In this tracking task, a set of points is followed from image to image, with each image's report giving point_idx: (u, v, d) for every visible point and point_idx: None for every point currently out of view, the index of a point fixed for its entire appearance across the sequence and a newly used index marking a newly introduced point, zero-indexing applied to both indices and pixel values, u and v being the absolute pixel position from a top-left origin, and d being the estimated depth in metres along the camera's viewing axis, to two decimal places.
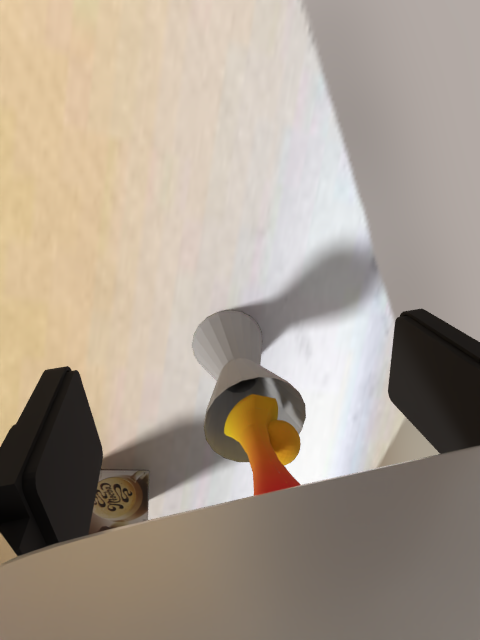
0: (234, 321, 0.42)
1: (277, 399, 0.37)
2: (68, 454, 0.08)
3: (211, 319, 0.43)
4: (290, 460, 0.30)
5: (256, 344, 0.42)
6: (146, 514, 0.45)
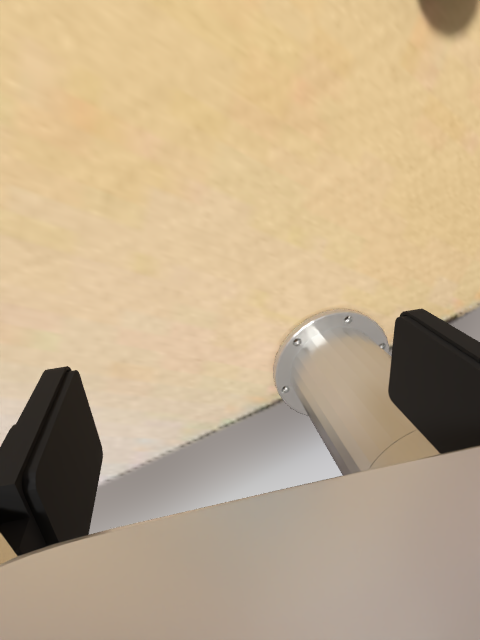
0: None
1: None
2: (68, 454, 0.08)
3: None
4: None
5: None
6: None
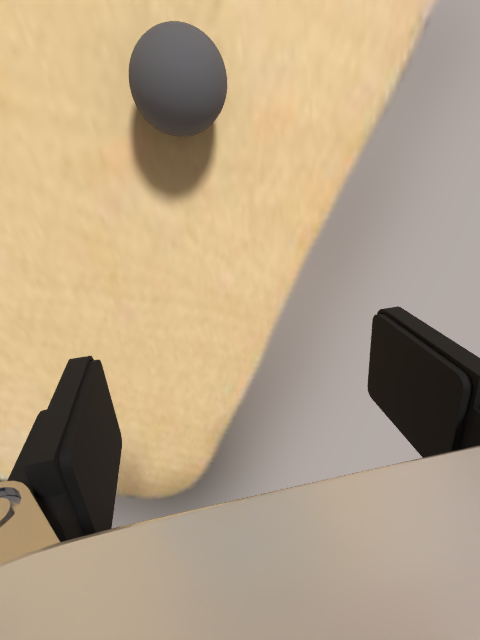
0: None
1: None
2: (95, 437, 0.08)
3: None
4: None
5: None
6: None
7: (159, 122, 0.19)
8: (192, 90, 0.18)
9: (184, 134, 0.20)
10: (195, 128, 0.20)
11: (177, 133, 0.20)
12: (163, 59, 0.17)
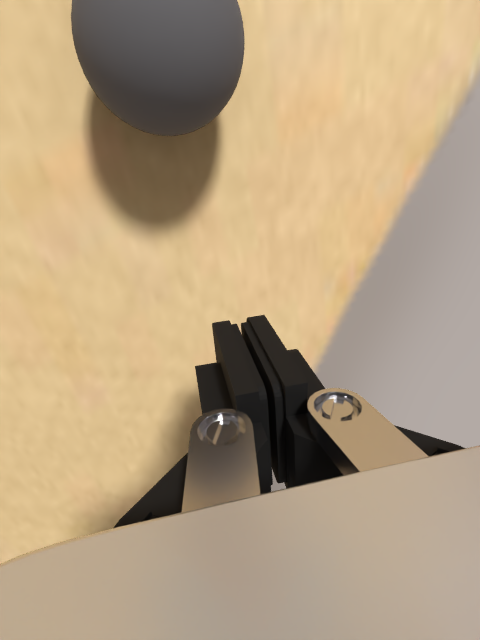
0: None
1: None
2: None
3: None
4: None
5: None
6: None
7: (128, 111, 0.11)
8: (185, 50, 0.10)
9: (173, 132, 0.12)
10: (191, 121, 0.11)
11: (160, 130, 0.12)
12: None
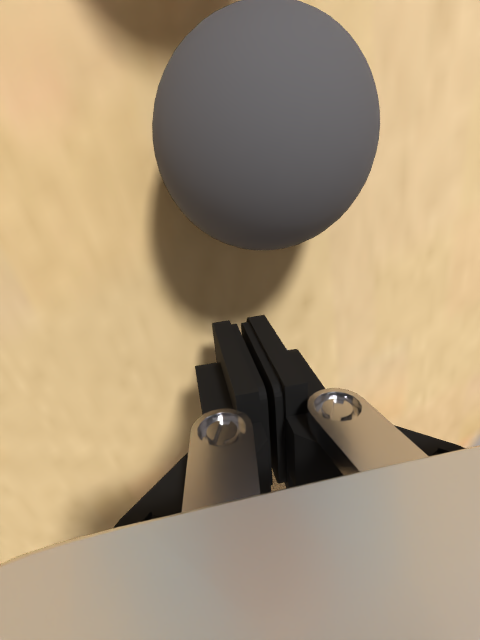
0: None
1: None
2: None
3: None
4: None
5: None
6: None
7: None
8: None
9: None
10: None
11: None
12: None
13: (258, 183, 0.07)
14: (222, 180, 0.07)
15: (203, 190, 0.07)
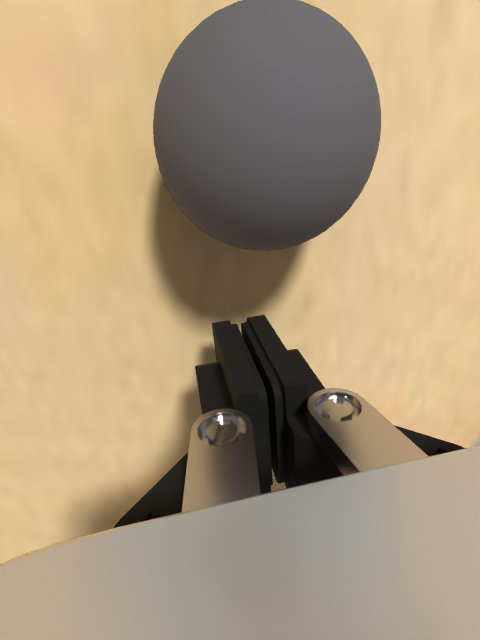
0: None
1: None
2: None
3: None
4: None
5: None
6: None
7: None
8: None
9: None
10: None
11: None
12: None
13: (259, 183, 0.07)
14: (224, 180, 0.07)
15: (204, 191, 0.07)
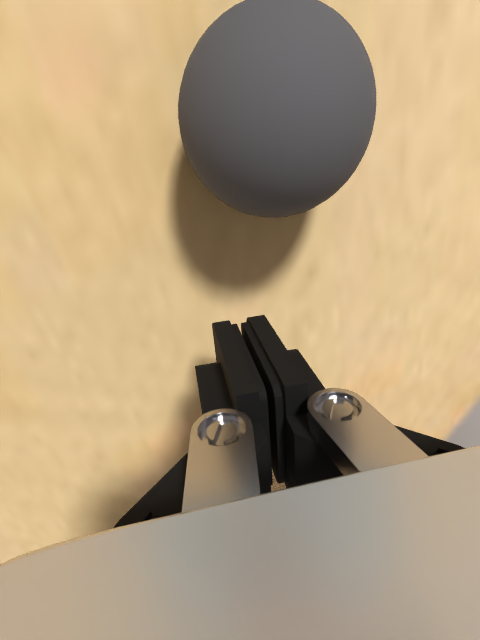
0: None
1: None
2: None
3: None
4: None
5: None
6: None
7: None
8: None
9: None
10: None
11: None
12: None
13: (269, 153, 0.08)
14: (240, 150, 0.08)
15: (222, 160, 0.08)
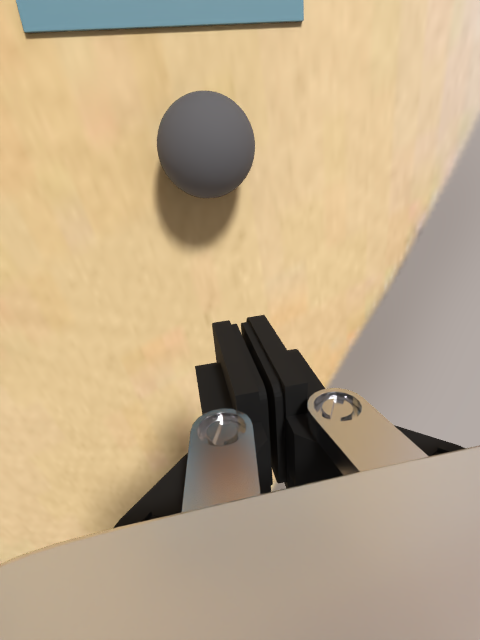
0: None
1: None
2: None
3: None
4: None
5: None
6: None
7: None
8: None
9: None
10: None
11: None
12: None
13: (198, 164, 0.18)
14: (184, 163, 0.18)
15: (177, 168, 0.18)
